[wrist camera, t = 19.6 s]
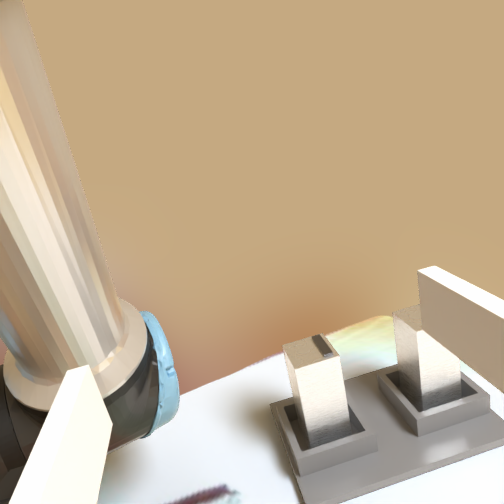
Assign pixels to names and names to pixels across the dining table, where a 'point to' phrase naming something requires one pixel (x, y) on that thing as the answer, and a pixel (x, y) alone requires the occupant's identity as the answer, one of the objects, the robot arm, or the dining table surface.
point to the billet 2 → (424, 363)
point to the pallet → (387, 438)
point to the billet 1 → (318, 390)
